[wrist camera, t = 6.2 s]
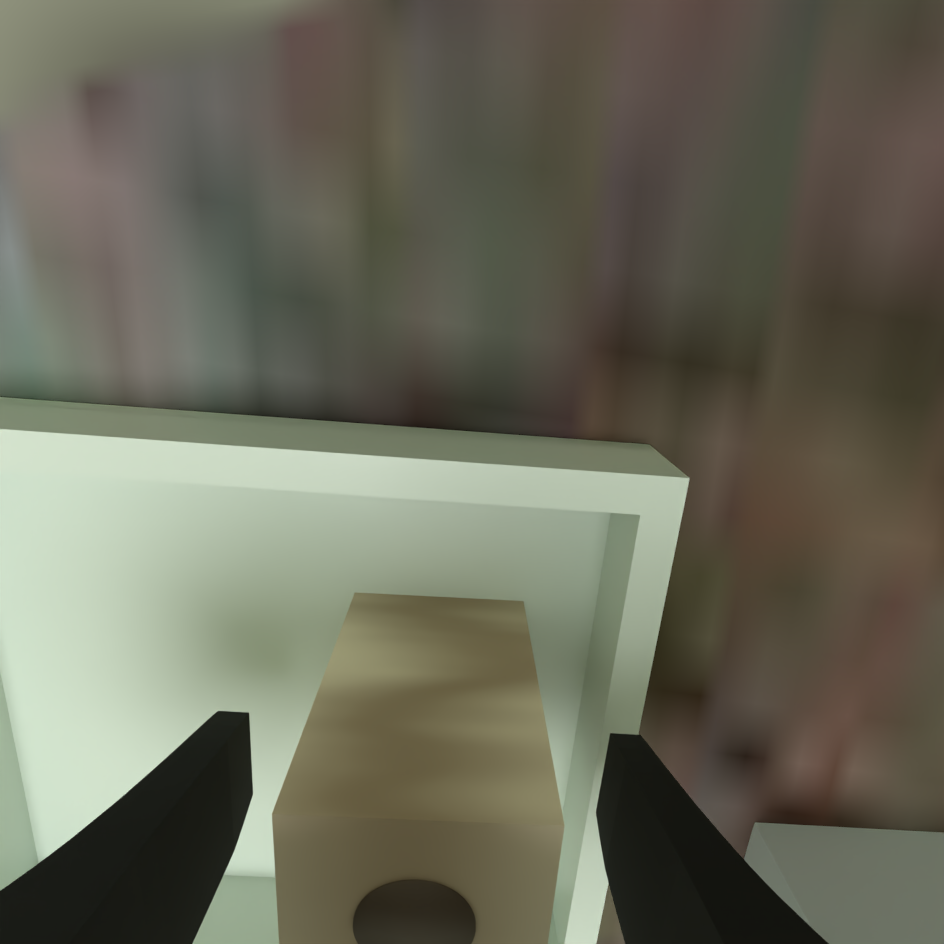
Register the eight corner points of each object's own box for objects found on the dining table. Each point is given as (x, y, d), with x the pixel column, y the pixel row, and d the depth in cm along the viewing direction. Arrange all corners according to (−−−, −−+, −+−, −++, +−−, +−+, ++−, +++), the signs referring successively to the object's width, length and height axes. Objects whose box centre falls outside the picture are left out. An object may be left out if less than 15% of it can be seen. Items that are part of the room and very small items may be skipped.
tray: (649, 444, 13) (689, 478, 11) (570, 891, 17) (587, 987, 15) (-68, 392, 13) (-194, 415, 10) (30, 865, 17) (-43, 960, 14)
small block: (523, 600, 14) (564, 829, 8) (509, 737, 15) (537, 1022, 9) (354, 592, 13) (270, 816, 8) (354, 731, 15) (282, 1014, 9)
